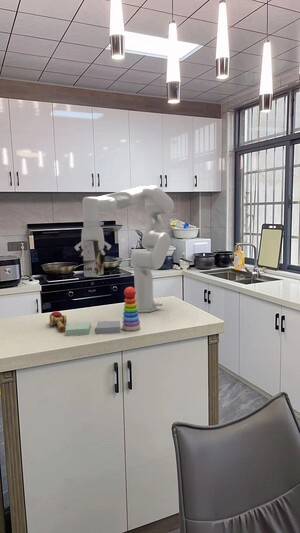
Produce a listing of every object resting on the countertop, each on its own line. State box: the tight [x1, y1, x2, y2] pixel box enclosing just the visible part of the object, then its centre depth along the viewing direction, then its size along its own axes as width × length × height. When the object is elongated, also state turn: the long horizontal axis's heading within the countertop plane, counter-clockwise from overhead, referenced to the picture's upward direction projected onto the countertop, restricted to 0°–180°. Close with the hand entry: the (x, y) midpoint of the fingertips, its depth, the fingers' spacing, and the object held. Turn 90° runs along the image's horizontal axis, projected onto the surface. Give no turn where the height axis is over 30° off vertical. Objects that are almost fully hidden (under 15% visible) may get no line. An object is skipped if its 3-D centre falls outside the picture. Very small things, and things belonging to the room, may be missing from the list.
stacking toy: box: [122, 286, 141, 332], centre depth 164 cm, size 8×8×19 cm
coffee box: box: [82, 240, 105, 278], centre depth 170 cm, size 9×6×16 cm
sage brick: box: [64, 321, 92, 337], centre depth 163 cm, size 10×10×3 cm
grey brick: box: [95, 320, 121, 335], centre depth 164 cm, size 10×10×3 cm
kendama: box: [49, 310, 67, 333], centre depth 171 cm, size 8×6×18 cm
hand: (93, 263), depth 171 cm, fingers closed on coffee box, 7 cm apart
